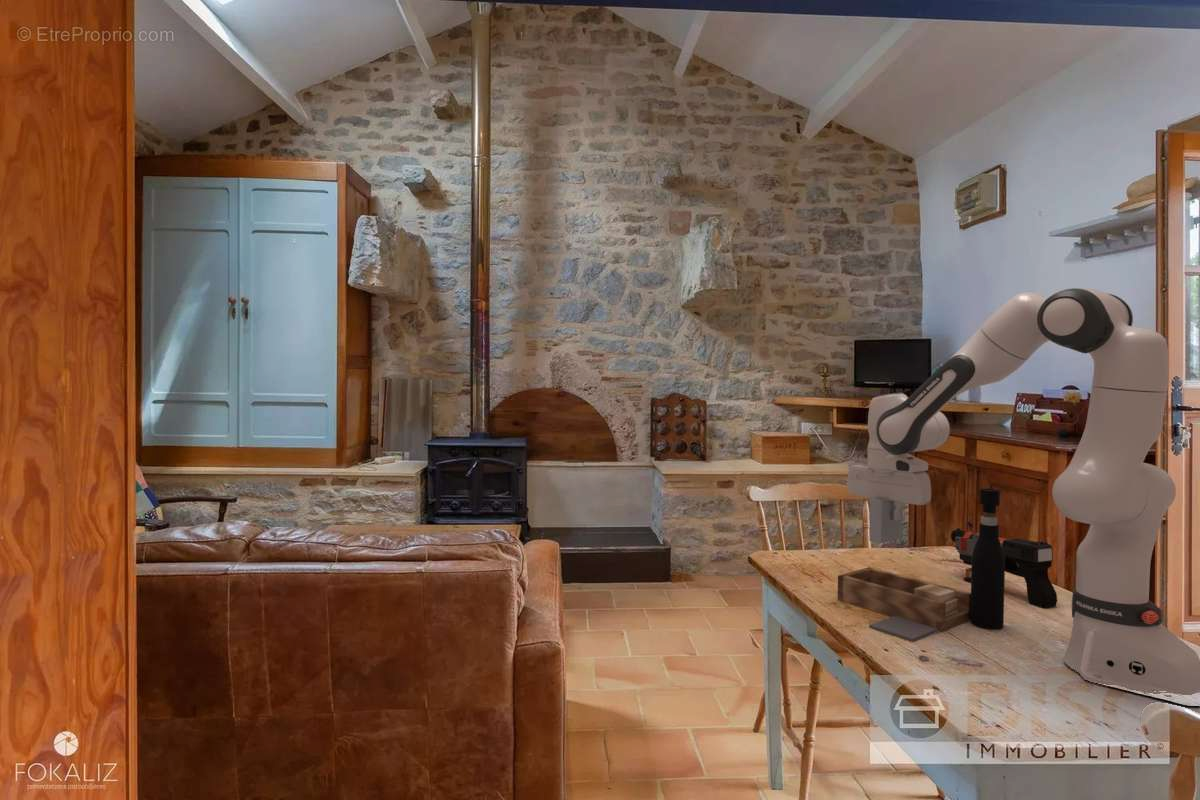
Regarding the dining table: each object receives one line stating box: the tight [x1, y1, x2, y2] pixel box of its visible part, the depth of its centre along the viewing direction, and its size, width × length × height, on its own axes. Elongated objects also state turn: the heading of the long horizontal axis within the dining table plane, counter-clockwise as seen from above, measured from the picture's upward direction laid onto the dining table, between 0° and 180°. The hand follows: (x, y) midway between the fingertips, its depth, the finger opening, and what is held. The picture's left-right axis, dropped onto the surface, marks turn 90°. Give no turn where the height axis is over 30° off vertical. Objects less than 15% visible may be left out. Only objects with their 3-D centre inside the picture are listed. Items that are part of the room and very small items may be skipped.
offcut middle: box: [945, 599, 958, 616], centre depth 158 cm, size 7×7×2 cm
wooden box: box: [837, 567, 971, 632], centre depth 164 cm, size 26×13×6 cm, turn 36°
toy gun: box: [950, 527, 1058, 609], centre depth 179 cm, size 6×28×15 cm, turn 18°
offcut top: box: [914, 584, 955, 603], centre depth 158 cm, size 6×6×2 cm
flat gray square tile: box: [868, 616, 939, 642], centre depth 151 cm, size 10×10×1 cm
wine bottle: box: [969, 488, 1006, 631], centre depth 154 cm, size 6×6×30 cm
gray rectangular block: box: [869, 498, 904, 544], centre depth 167 cm, size 3×9×10 cm, turn 126°
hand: (886, 518), depth 167 cm, fingers closed on gray rectangular block, 3 cm apart
